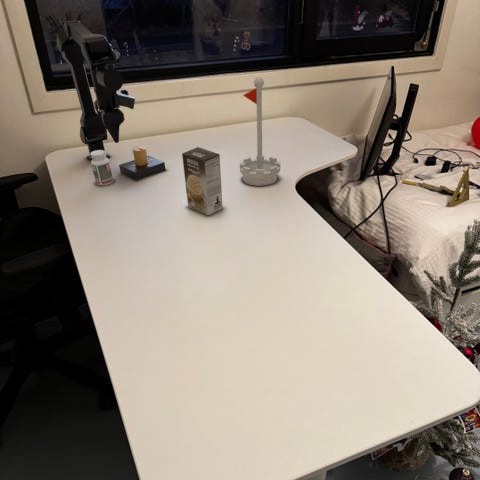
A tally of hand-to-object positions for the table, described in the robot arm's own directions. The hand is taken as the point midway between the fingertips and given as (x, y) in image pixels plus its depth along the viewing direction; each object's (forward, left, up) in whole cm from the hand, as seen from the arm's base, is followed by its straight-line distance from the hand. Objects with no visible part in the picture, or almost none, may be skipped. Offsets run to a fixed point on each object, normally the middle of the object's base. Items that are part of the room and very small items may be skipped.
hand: (114, 138), depth 148 cm
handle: (+1, +8, -10) cm, 13 cm away
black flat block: (+1, +8, -13) cm, 15 cm away
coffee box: (+39, +4, -13) cm, 41 cm away
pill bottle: (-1, -6, -13) cm, 15 cm away
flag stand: (+36, +30, -13) cm, 49 cm away
